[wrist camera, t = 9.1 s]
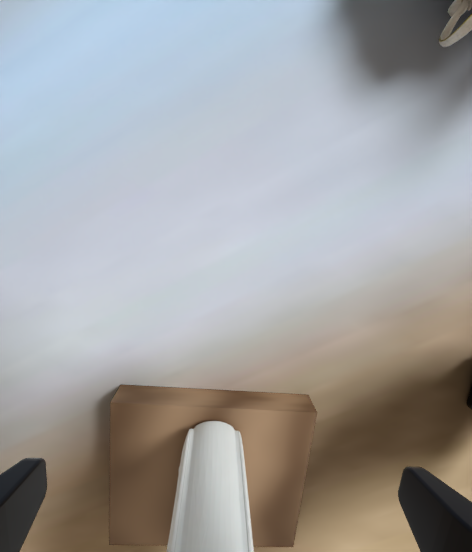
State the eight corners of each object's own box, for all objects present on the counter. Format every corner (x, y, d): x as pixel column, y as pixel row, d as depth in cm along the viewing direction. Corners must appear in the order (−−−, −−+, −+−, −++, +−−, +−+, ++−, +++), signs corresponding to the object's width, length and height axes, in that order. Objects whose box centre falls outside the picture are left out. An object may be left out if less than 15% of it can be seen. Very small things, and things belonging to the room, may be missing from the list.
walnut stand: (308, 394, 22) (317, 412, 20) (287, 520, 24) (293, 547, 22) (120, 384, 21) (110, 402, 19) (118, 516, 23) (109, 544, 21)
